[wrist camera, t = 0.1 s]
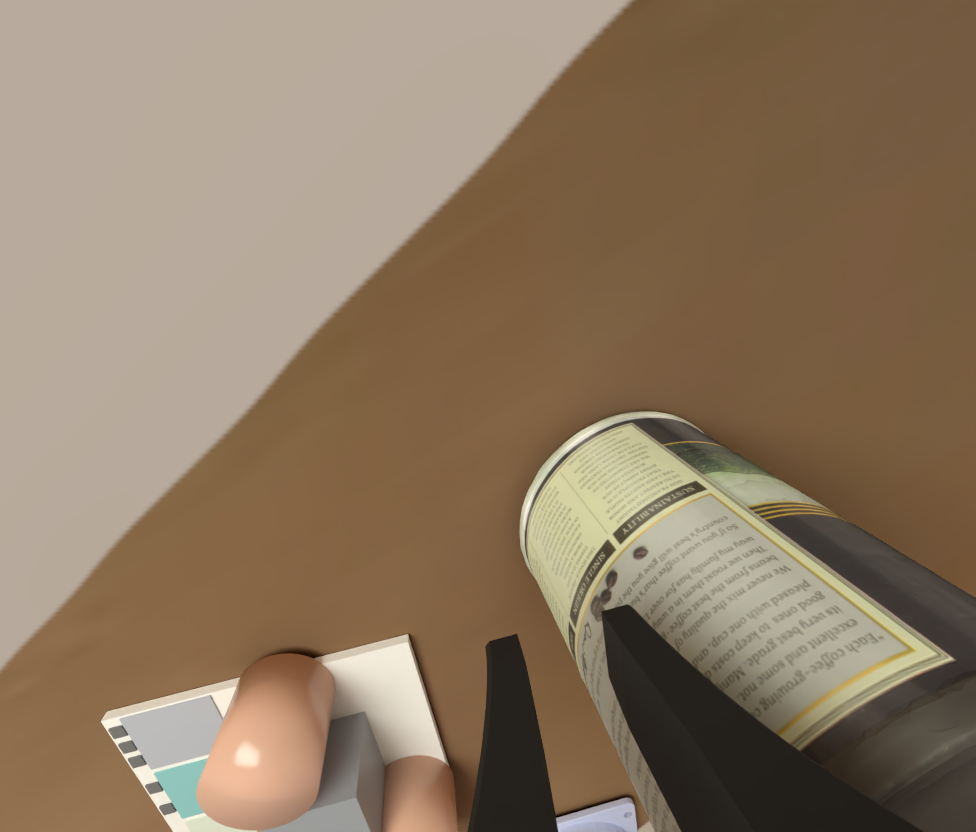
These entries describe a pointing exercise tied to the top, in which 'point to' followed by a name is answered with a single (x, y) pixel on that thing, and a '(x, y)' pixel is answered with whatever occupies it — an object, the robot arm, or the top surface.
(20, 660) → the top surface
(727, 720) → the robot arm
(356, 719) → the matte grey cube
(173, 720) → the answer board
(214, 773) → the peach glossy domed part
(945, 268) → the top surface
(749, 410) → the top surface
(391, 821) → the peach rounded cylinder
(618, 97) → the top surface
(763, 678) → the coffee can
